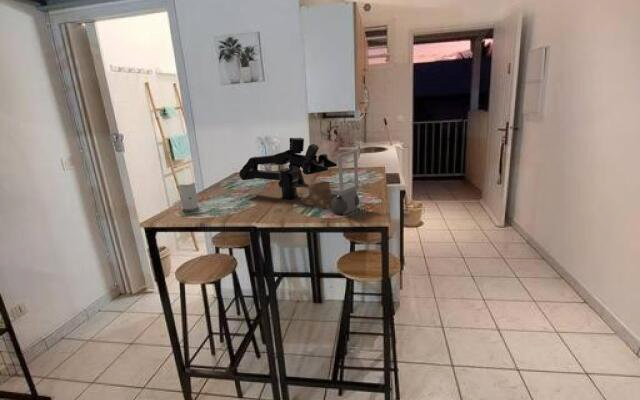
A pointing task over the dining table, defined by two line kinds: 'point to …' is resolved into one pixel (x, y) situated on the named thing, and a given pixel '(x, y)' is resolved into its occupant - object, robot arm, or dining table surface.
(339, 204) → the trolley
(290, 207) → the dining table surface
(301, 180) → the door stopper
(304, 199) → the brown stepped block
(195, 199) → the skincare box
